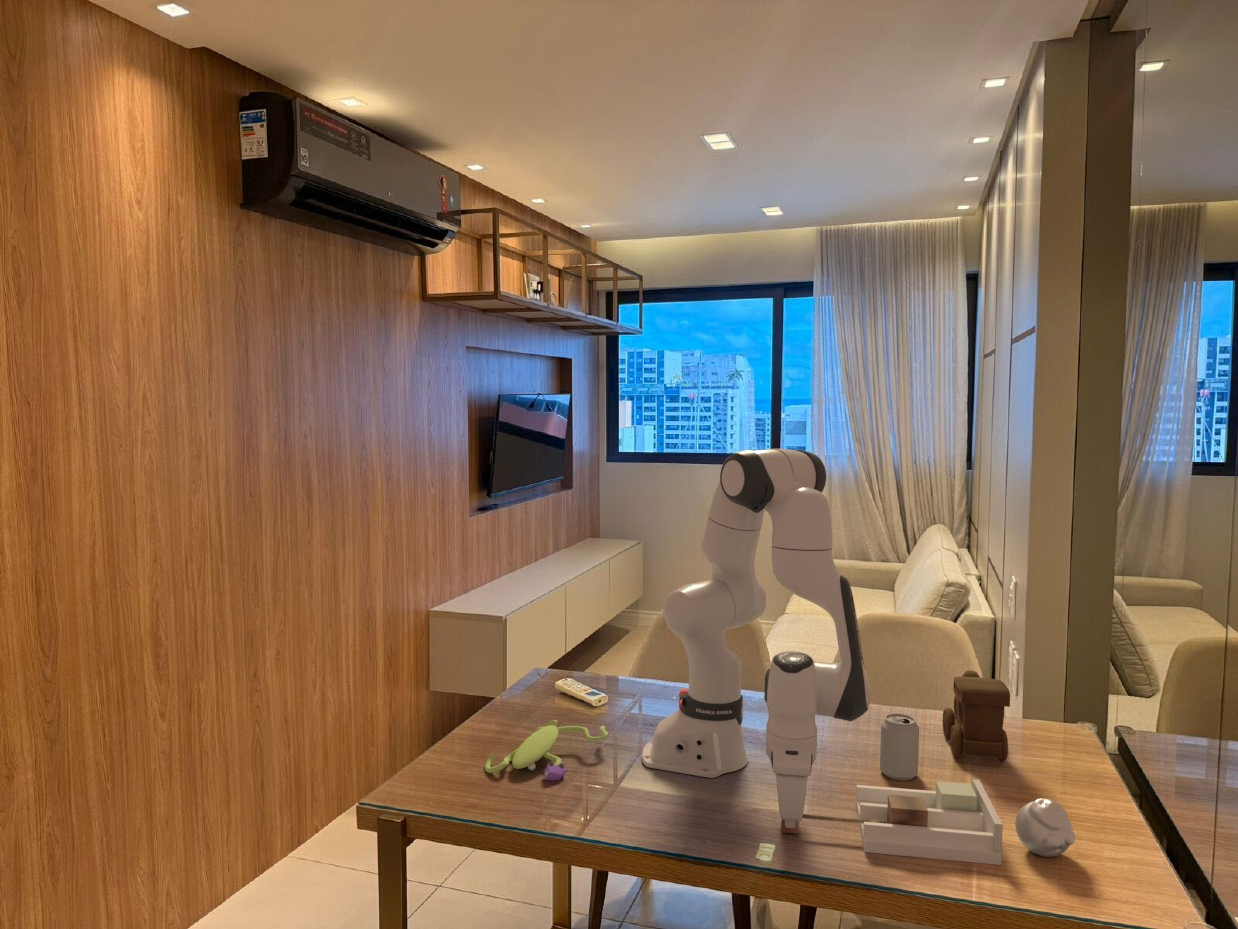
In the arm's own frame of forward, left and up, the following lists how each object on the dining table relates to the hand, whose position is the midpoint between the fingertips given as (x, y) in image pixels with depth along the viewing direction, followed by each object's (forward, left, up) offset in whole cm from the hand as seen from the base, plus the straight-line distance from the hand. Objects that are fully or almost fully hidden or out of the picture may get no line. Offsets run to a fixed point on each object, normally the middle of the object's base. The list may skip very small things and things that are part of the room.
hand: (789, 820), depth 154 cm
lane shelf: (+23, +4, -2) cm, 24 cm away
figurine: (-50, +23, -2) cm, 55 cm away
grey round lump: (+42, 0, -2) cm, 43 cm away
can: (+22, +28, -2) cm, 36 cm away
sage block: (+30, +7, 0) cm, 30 cm away
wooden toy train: (+40, +44, -2) cm, 60 cm away
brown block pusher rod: (+11, 0, -2) cm, 11 cm away
